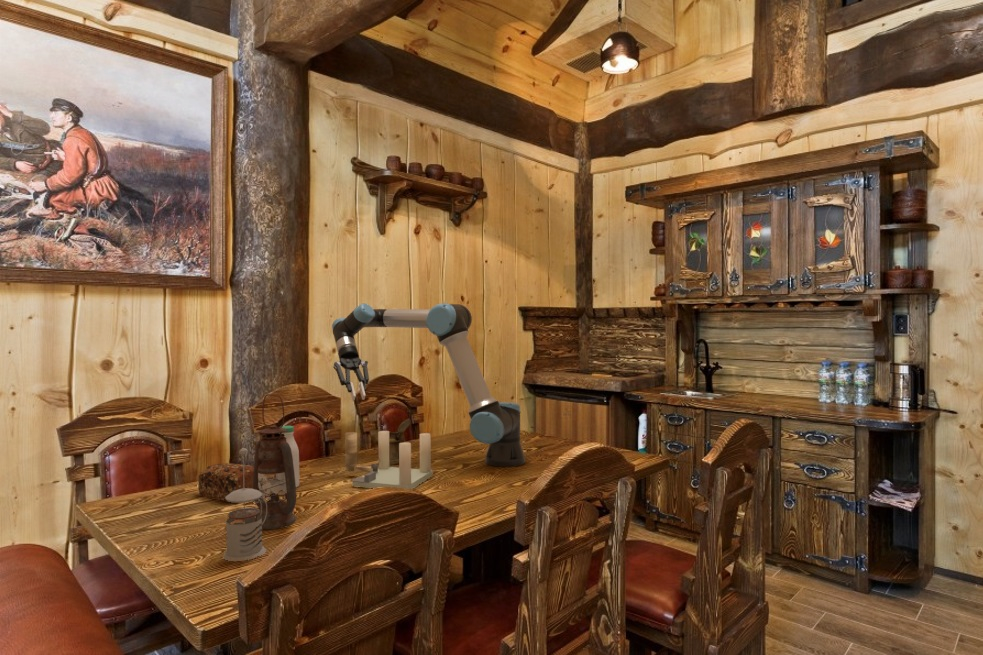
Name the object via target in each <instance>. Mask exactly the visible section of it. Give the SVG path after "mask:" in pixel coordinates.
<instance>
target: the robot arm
mask: <svg viewBox="0 0 983 655" xmlns="http://www.w3.org/2000/svg"><path fill="white" fill-rule="evenodd" d="M472 320H473V316H472V313H471V311H470V310H469V308H467V307H466V306H465V305H462V304H459V303H446V302H443V303H438V304H436V305H434V306H433V307H431V309H429V308H428V309H426V308H425V309H422V308H421V309H417V308H413V309H412V308H409V309H407V308H406V309H405V308H404V309H403V308H402V309H401V308H396V309H395V308H373V307H372V306H371V305H370V304H367V303H361V304H359V305H358V306H357V307H355V308H354V309H353V310H352V311H351V312H350V313H349V314H348V315H347V316H346V317H339V318H338V319H337V318H336V319H335V320H334V321H332V322H333V323H332V324H331V328H332V334H333V337H334V342H335V345H336V350H337V356H338V359H339V361H338V362H337V361H335V362H334V364H333V369H334V371H336V374H337V377H338V378H337V379H338V380H339V382H340V383H339V384H340V385H341V386H345V388H346V389H347V393H350V395H351V400H352V401H355V400H356V397H357V395H356V391H355V386H354V383H353V382H352V381H351V371H353V373H354V374H355V376H356V378H357V380H358V382H359V385H358V387H359V392H360V397H361V400H362V401H365V398H366V390H367V386H366V385H368V383H369V381H370V376H369V368H368V363H369V361H367V360H365V361H363V360H362V359H361V358H360V354H359V352H358V347H357V343H356V340H355V336H356V335H357V334H358V333H359V332H360V331H361V330H362V329H363V328H409V329H410V328H411V329H422V328H423V329H428V330H429V332H430V334H433V335H435V337H436V338H437V340H438V342H439V345H441V346H444V347H445V348H446V351H447V354H448V356H449V358H450V361H451V363H452V365H453V367H454V370H455V372H456V375H457V378H458V380H459V382H460V385H461V387H462V390H463V392H464V395H465V397H466V399H467V401H468V405H469V410H468V412H467V413H468V416H469V418H470V423H469V430H470V431H469V432H470V434H471V435H472V437H473V438H474V439H475V440H476V441H477V442H479V443H481V444H486V445H488V447H487V450H486V454H485V457H484V458H485V460H484V461H485V464H487V465H489V466H492V467H493V466H494V467H501V468H504V467H505V468H506V467H507V468H509V467H511V468H512V467H517V466H522V465H524V464H525V463H526V461H525V460H526V458H525V453H524V449H523V447H522V444H521V413H522V412H521V406H520V404H519V403H516V402H502V401H501V402H500V401H498V399H497V398H495V397H493V396H492V394H491V392H490V389H489V387H488V385H487V382H486V380H485V378H484V376H483V372H482V370H481V368H480V366H479V363H478V361H477V358H476V356H475V353H474V351H473V349H472V347H471V346H472V345H471V344H470V341H469V340H468V336H469V333H470V332H469V328H471V325H472ZM360 365H361V368H362V372H361V369H360ZM342 368H343V369H344V372H345V376H344V372H343V370H342ZM362 373H363V374H362Z"/></svg>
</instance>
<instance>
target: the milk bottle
mask: <svg viewBox="0 0 983 655" xmlns="http://www.w3.org/2000/svg"><path fill="white" fill-rule="evenodd" d="M282 428H286V429H288V431H286V432H283V433H282V434H284V435H285V436H284V437H286V442H287V443H288V444H289V445H290V448H291V451H292V457H293V465H294V474H295V483H296V488H298V487H299V486H300V453H299V452H300V451H299V447H298V446H299V445H298V444H297V442H296V440H295V437H294V434H295V427H294V426H293V425H283V427H282ZM284 473H285V472H284ZM276 476H277V474H274V477H275V479H276ZM284 479H285V477H284ZM285 481H286V480H285ZM285 481H284V482H285ZM277 482H278V481H277ZM282 483H283V482H281V484H282ZM275 485H277V484H275ZM278 486H279V485H278ZM278 486H277V487H278ZM275 487H276V486H275ZM283 487H284V485H283ZM283 487H282V488H283ZM280 491H283V489H281V490H280Z"/></svg>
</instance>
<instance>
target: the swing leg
mask: <svg viewBox="0 0 983 655" xmlns="http://www.w3.org/2000/svg"><path fill="white" fill-rule="evenodd" d="M344 434H345V438H344V440H345V442H344V443H345V445H344V446H345V447H344V448H345V471H347V472H363V473H369V472H371V471H373V472H378V468H379V463H372V464H371V465H370V466H369V465H358V432H355V431H351V432H348V431H347V432H345V433H344Z"/></svg>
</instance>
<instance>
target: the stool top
mask: <svg viewBox="0 0 983 655" xmlns="http://www.w3.org/2000/svg"><path fill="white" fill-rule="evenodd" d="M389 432H390V431H389V430H380V431H378V432H377V436H378V437H377V438H378V444H377V445H378V472H373V471H371V472H366V474H363V475H362V476H357V477H355V478H353V479H350V482H352V487H353V486H360V487H365V488H364V489H369V490H370V489H371V488H377V487H397V488H405V489H411V491H413V490H414V489H415V488H417V487H418V486H420V485H421V484H423V483H424V482H427V481H428V480H429V479H430V477H431V478H432V477H433V476H434V470H432V466H431V465H432V464H431V463H432V458H431V456H432V453H431V450H432V449H431V445H432V444H431V442H432V441H431V433H430V432H425V433H424V432H422V433H419V468H418V469H417V468H412V443H411V442H408V441H405V442H403V443H401V442H400V443H399V464H398V467H396V466H390V465H389ZM427 479H428V480H427ZM422 482H423V483H422ZM419 484H420V485H419ZM369 487H371V488H369ZM413 488H414V489H413Z"/></svg>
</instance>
